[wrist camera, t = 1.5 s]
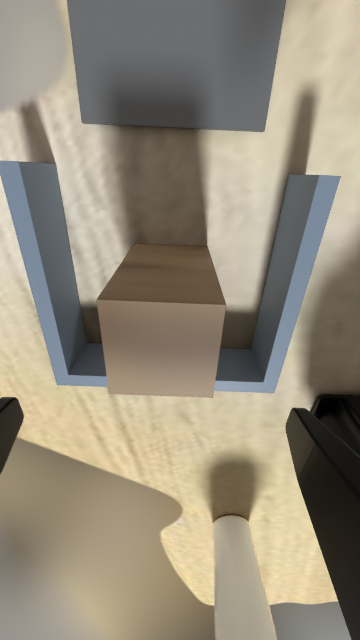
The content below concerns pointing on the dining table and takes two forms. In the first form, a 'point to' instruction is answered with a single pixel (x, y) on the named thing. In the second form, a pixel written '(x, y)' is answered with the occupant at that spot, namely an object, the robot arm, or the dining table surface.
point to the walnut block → (162, 322)
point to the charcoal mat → (176, 62)
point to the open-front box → (62, 296)
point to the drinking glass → (239, 584)
